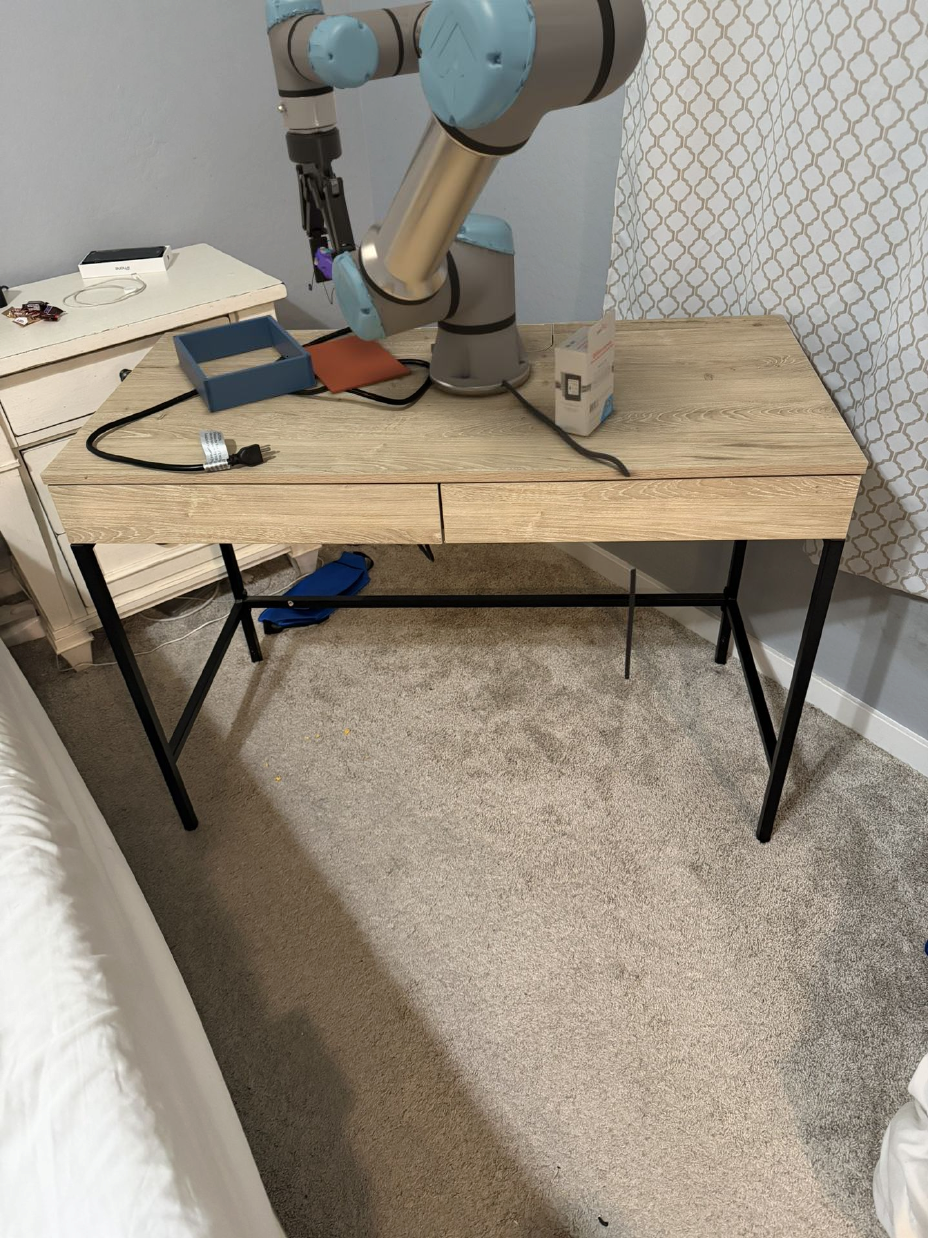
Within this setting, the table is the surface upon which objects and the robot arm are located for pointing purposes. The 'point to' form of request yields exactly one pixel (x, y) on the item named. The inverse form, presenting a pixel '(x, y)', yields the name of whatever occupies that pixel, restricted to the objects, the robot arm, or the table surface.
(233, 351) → the box
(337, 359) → the mat
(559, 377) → the ink box
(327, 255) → the game controller
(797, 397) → the table surface
